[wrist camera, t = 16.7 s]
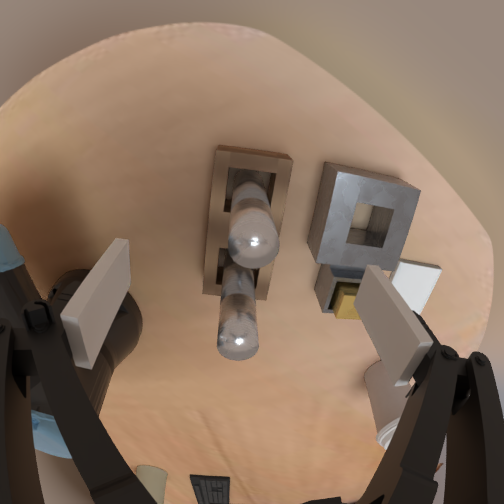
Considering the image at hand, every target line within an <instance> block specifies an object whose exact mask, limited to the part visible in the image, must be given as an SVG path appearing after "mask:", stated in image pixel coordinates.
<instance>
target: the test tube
mask: <svg viewBox="0 0 504 504" xmlns="http://www.w3.org/2000/svg"><path fill="white" fill-rule="evenodd" d="M258 348H259V344H258V330H257V316H256V302H255V288H254V274H253V268H246V267H243V266H241V265H239V264H237V263H236V262H235V261H234V260H233V259H232V258H231V256H230V254H229V251H228V249H226V250H225V259H224V270H223V281H222V292H221V303H220V315H219V327H218V339H217V349H218V351H219V353H220V354H221V355H222V356H224V357H225V358H227V359H230V360H236V361H240V360H246V359H249V358H251V357H252V356H254V355H255V354H256V352H257V351H258Z"/></svg>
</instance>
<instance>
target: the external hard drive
mask: <svg viewBox="0 0 504 504" xmlns="http://www.w3.org/2000/svg"><path fill="white" fill-rule="evenodd" d="M441 271H442V268H441V267H439V266H436V265H431V264H425V263H420V262H415V261H409V260H404V259H399V261H398V263H397V266H396V269H395V271H392V273H391V275H390V278H389V280H390V282H391V283H392V284H393V286H394V287H395V288H396V290H397V291H398V292H399V294H400V295H401V296H402V298H403V299H404V300H405V302H406V303H407V304H408V306H409V307H410V309H411V310H412V311H415V312H416V313H418V314H419V315H420V313H421V311H422V309H423V307H424V306H425V304H426V302H427V300H428V298H429V296H430V294H431V292H432V290H433V288H434V286H435V284H436V282H437V280H438V278H439V275H440V273H441Z"/></svg>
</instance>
